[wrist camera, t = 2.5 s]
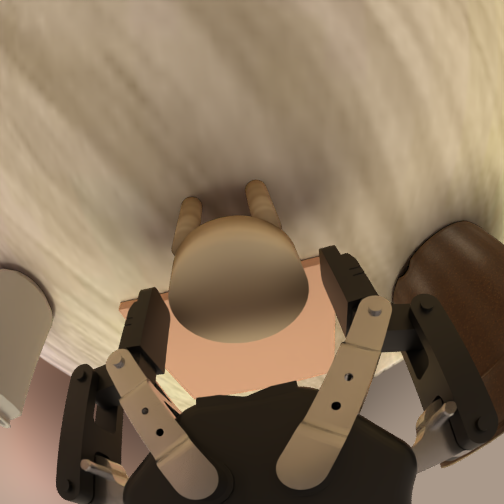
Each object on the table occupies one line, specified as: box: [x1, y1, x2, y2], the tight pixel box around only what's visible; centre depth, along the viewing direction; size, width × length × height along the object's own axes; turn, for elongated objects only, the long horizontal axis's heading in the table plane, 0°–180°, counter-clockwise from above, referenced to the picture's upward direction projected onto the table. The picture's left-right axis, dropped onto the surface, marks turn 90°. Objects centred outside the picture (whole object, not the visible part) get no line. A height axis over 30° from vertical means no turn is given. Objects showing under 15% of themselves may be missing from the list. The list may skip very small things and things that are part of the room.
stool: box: [168, 180, 309, 343], centre depth 14 cm, size 6×6×6 cm
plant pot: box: [393, 221, 504, 468], centre depth 16 cm, size 16×16×16 cm
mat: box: [119, 257, 335, 399], centre depth 24 cm, size 16×16×1 cm
